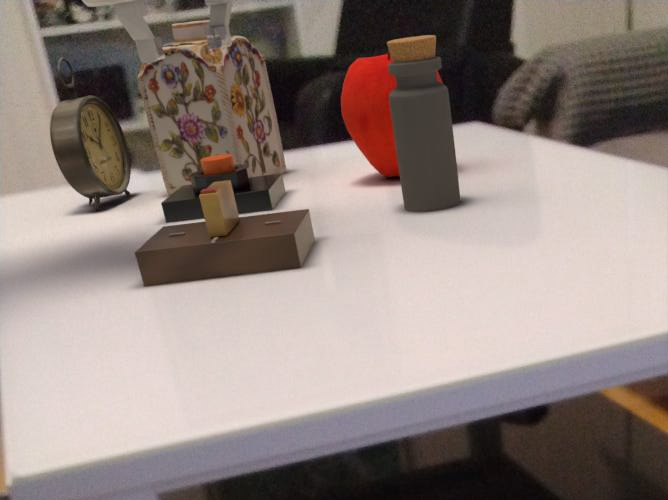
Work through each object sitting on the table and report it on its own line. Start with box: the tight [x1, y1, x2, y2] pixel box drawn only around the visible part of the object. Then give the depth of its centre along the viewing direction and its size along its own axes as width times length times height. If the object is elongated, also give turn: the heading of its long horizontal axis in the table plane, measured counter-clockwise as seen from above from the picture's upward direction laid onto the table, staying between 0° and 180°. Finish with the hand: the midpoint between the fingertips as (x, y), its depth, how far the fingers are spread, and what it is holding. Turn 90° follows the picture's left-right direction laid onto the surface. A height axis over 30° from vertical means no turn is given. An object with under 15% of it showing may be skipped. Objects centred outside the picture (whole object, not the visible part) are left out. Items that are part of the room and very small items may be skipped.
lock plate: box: [134, 208, 316, 287], centre depth 92 cm, size 14×10×3 cm
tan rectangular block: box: [199, 180, 240, 237], centre depth 90 cm, size 6×2×4 cm, turn 0°
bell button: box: [200, 154, 236, 175], centre depth 114 cm, size 4×4×2 cm
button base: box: [160, 164, 287, 224], centre depth 116 cm, size 12×10×4 cm
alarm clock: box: [49, 56, 132, 213], centre depth 123 cm, size 11×5×16 cm, turn 171°
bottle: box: [386, 34, 461, 213], centre depth 101 cm, size 6×6×15 cm
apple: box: [340, 47, 444, 178], centre depth 117 cm, size 12×12×13 cm
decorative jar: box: [136, 19, 287, 196], centre depth 125 cm, size 12×12×18 cm
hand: (188, 54), depth 94 cm, fingers open, 8 cm apart
